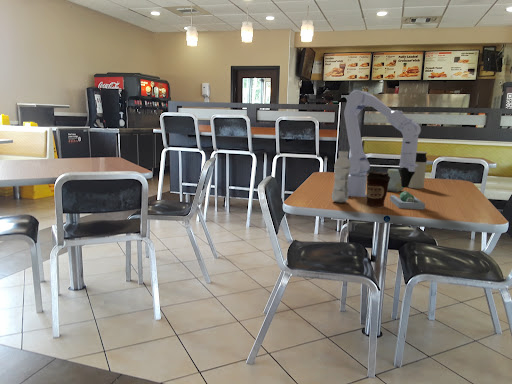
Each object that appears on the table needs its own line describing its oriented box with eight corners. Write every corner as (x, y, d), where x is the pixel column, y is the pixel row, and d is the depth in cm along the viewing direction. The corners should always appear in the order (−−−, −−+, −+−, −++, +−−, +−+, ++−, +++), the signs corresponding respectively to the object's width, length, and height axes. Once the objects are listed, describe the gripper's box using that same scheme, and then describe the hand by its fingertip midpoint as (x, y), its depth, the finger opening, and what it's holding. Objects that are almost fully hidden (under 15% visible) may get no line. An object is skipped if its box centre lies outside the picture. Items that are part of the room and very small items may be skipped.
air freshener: (393, 188, 193) (395, 168, 191) (407, 191, 186) (409, 170, 185) (377, 190, 188) (379, 169, 186) (391, 193, 181) (393, 171, 179)
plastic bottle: (348, 201, 158) (353, 151, 155) (346, 204, 152) (351, 152, 148) (332, 199, 161) (336, 150, 157) (330, 203, 154) (334, 151, 150)
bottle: (398, 200, 161) (402, 205, 152) (401, 190, 160) (406, 194, 151) (408, 203, 160) (414, 208, 152) (412, 192, 159) (418, 197, 151)
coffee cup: (383, 210, 146) (387, 175, 143) (361, 206, 150) (364, 172, 148) (389, 206, 153) (392, 172, 151) (368, 202, 157) (371, 170, 155)
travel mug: (426, 189, 195) (430, 152, 191) (409, 188, 195) (413, 152, 191) (419, 186, 202) (423, 151, 199) (404, 185, 202) (407, 150, 199)
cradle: (398, 208, 149) (399, 202, 149) (390, 200, 163) (390, 195, 162) (424, 210, 148) (425, 203, 148) (413, 202, 162) (414, 196, 162)
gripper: (424, 155, 149) (420, 191, 152) (413, 152, 163) (410, 184, 166) (405, 154, 150) (401, 189, 152) (396, 151, 164) (392, 183, 167)
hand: (404, 187), depth 159 cm, fingers closed
